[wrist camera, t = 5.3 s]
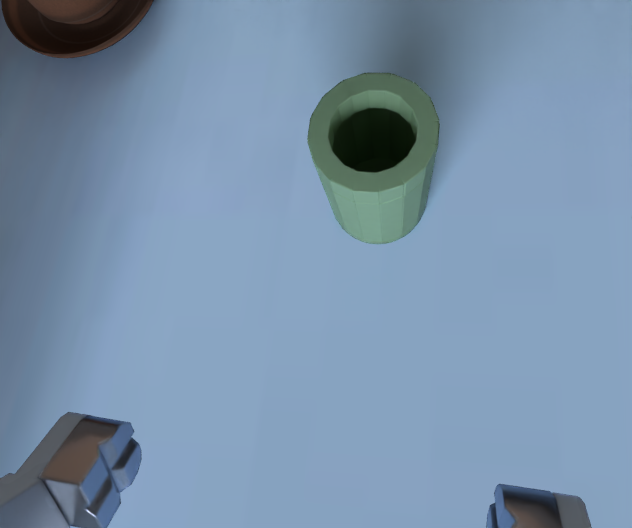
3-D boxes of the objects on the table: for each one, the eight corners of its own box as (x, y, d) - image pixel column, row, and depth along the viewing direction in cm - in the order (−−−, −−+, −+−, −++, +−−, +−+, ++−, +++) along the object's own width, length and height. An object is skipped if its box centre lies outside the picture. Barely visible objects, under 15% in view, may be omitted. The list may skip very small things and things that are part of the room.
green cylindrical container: (429, 159, 28) (443, 73, 19) (421, 247, 27) (434, 196, 18) (338, 155, 29) (316, 70, 20) (328, 240, 28) (300, 188, 19)
